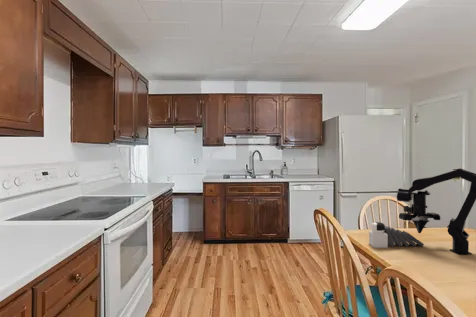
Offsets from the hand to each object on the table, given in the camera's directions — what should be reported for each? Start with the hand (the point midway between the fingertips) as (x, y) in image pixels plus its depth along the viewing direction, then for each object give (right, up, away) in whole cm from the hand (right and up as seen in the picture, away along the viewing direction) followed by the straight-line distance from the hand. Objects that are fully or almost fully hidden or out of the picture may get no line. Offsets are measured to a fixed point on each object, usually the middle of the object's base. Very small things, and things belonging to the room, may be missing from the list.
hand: (419, 232), depth 163 cm
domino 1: (-15, -6, 0) cm, 16 cm away
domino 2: (-11, -6, 0) cm, 12 cm away
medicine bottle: (-21, -7, 0) cm, 23 cm away
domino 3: (-7, -6, 0) cm, 9 cm away
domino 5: (+1, -6, 0) cm, 6 cm away
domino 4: (-3, -6, 0) cm, 7 cm away
